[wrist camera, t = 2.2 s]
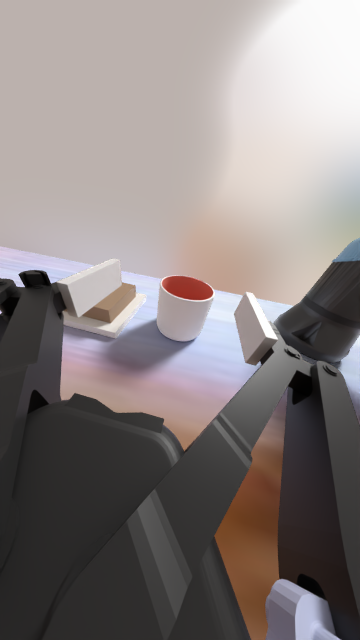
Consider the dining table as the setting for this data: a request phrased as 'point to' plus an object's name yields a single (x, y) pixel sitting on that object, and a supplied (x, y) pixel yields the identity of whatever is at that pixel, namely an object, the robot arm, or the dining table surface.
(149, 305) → the dining table surface
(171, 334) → the cup
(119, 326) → the plinth
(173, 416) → the dining table surface
